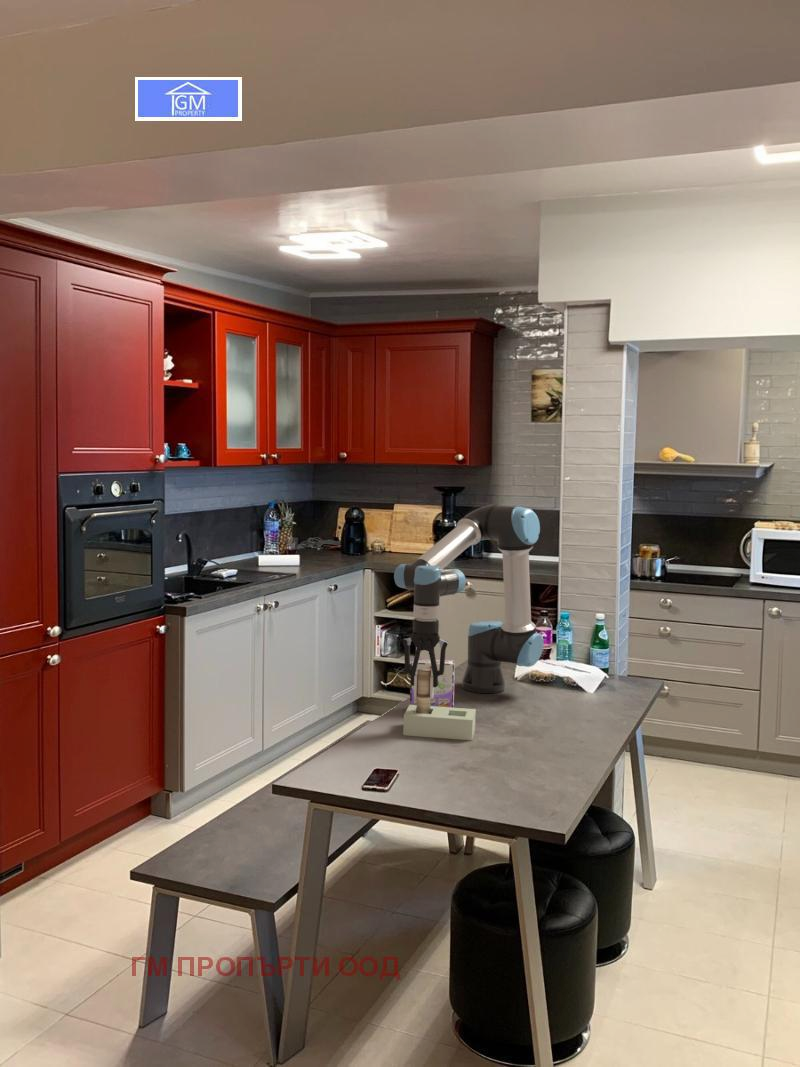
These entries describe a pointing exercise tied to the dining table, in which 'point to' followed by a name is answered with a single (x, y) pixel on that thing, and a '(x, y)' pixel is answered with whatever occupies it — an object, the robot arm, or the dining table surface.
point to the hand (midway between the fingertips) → (423, 696)
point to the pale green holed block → (440, 723)
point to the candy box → (444, 687)
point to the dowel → (423, 691)
